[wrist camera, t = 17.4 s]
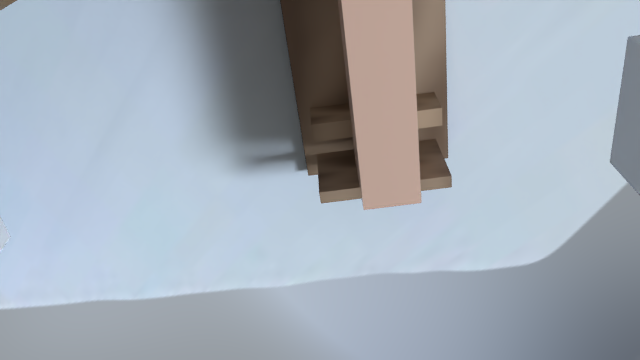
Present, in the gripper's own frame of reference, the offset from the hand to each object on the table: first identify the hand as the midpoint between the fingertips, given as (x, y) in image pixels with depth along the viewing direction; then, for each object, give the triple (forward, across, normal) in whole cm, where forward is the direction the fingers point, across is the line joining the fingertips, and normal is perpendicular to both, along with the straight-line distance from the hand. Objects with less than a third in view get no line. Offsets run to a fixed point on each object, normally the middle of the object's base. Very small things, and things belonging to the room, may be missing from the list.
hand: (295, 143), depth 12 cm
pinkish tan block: (+31, +4, -10) cm, 33 cm away
